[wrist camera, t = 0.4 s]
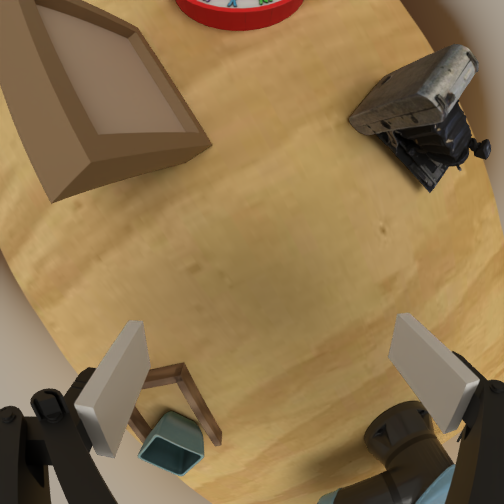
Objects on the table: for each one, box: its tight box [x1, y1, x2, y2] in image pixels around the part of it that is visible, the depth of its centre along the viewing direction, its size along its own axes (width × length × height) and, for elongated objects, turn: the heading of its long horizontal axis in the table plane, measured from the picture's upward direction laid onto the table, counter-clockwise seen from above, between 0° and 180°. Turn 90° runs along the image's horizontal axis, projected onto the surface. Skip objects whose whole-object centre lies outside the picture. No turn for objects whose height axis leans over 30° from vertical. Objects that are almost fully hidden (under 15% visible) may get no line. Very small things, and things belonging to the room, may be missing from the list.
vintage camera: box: [349, 44, 491, 193], centre depth 30 cm, size 10×16×20 cm, turn 51°
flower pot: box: [138, 411, 204, 476], centre depth 45 cm, size 9×9×9 cm
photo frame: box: [0, 0, 212, 204], centre depth 25 cm, size 15×22×25 cm
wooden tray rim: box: [128, 363, 222, 446], centre depth 47 cm, size 17×14×4 cm
